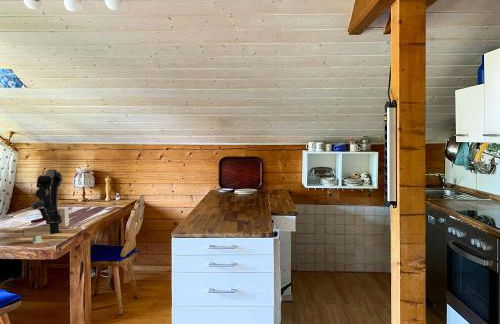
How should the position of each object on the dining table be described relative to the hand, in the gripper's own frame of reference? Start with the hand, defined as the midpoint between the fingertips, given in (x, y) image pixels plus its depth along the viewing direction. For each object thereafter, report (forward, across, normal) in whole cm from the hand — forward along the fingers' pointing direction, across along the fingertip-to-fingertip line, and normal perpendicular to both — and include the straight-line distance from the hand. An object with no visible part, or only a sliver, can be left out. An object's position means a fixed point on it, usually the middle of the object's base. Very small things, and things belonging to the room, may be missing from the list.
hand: (47, 220), depth 252 cm
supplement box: (+13, -30, +21) cm, 38 cm away
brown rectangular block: (+7, +3, -7) cm, 11 cm away
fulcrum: (+11, +3, -7) cm, 14 cm away
